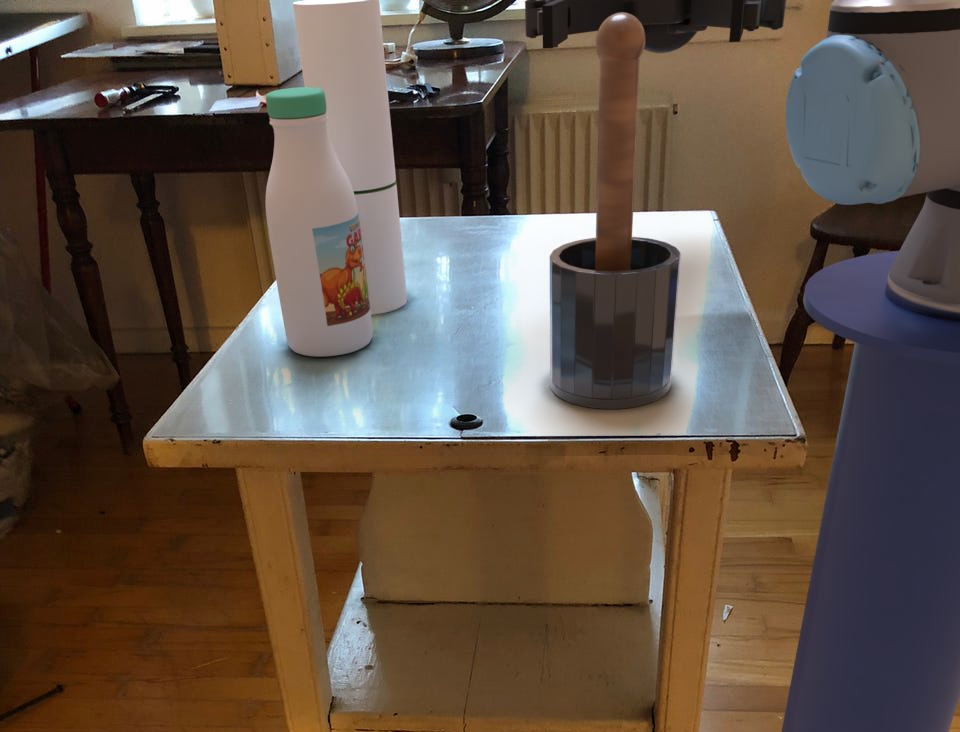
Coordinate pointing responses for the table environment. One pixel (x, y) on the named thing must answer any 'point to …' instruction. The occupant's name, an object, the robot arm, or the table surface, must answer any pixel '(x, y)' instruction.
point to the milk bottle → (314, 231)
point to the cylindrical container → (358, 128)
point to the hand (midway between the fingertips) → (639, 23)
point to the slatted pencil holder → (612, 325)
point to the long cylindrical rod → (617, 138)
